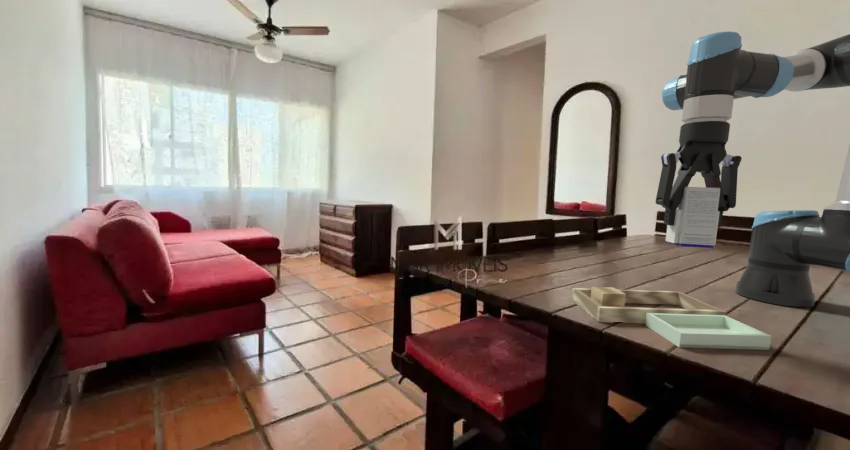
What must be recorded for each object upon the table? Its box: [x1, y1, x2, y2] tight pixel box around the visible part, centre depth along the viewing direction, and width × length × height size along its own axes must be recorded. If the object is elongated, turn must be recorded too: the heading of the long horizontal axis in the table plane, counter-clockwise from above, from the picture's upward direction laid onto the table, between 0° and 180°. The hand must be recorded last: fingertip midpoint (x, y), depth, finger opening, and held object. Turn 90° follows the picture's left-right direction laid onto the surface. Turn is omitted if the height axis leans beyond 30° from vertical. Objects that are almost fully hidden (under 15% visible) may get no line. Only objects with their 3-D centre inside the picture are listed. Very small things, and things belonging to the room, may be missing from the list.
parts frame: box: [571, 287, 727, 324], centre depth 83 cm, size 26×14×3 cm, turn 90°
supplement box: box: [668, 186, 720, 249], centre depth 72 cm, size 6×6×12 cm
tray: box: [644, 313, 772, 351], centre depth 70 cm, size 16×10×3 cm, turn 90°
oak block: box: [590, 286, 626, 307], centre depth 82 cm, size 5×5×5 cm
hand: (689, 242), depth 73 cm, fingers closed on supplement box, 6 cm apart
